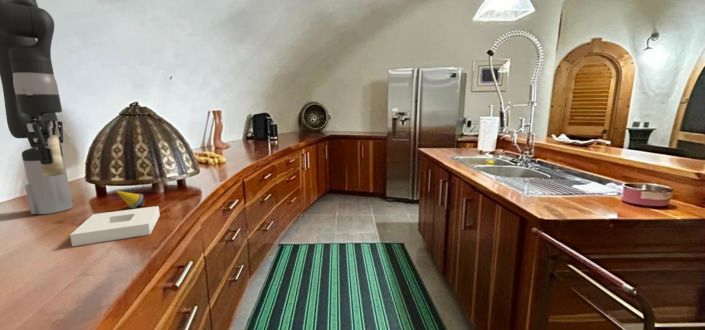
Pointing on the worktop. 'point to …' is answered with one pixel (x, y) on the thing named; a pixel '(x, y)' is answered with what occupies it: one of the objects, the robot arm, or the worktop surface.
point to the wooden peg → (57, 165)
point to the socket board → (116, 226)
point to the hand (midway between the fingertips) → (51, 162)
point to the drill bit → (132, 199)
